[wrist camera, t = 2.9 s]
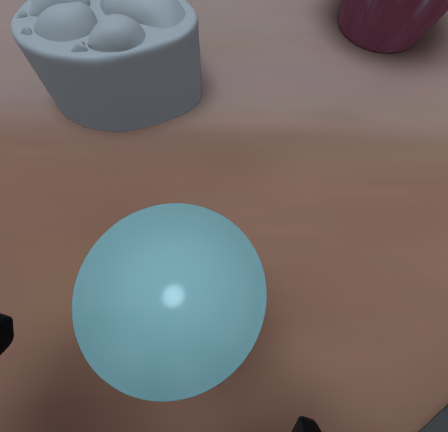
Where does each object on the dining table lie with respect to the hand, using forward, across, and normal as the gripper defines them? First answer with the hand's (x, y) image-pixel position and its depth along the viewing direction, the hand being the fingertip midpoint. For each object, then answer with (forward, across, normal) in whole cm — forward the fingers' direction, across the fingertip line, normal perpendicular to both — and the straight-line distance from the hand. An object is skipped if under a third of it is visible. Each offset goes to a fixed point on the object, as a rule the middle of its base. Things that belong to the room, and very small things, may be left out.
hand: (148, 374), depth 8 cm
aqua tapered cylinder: (+9, 0, -6) cm, 11 cm away
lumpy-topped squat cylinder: (+22, -13, +6) cm, 27 cm away
